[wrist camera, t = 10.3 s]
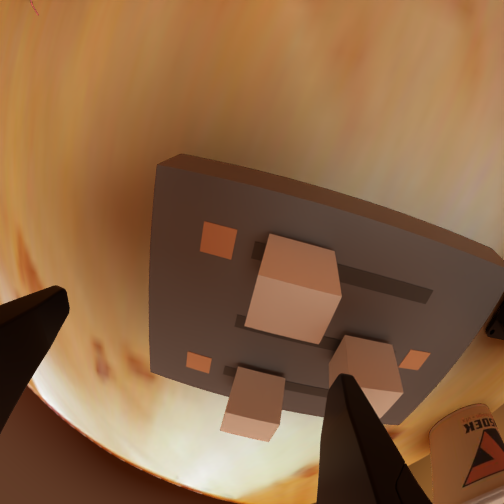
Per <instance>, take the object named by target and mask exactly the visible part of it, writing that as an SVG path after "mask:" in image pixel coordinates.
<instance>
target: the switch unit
mask: <svg viewBox="0 0 504 504" xmlns="http://www.w3.org/2000/svg"><path fill="white" fill-rule="evenodd" d="M269 234H273V235H277V236H281V237H285V238H288V239H292V240H296V241H299V242H303V243H307V244H310V245H314V246H318V247H321V248H325V249H328V250H332V251H335V256H336V262H337V268H338V275H339V281H340V288H341V294H342V297H341V300H340V302H339V304H338V306H337V308H336V310H335V313H334V315H333V317H332V319H331V321H330V323H329V325H328V327H327V329H326V331H325V333H324V335H323V337H322V339H321V341H320V343H319V344H315V343H310V342H306V341H302V340H297V339H293V338H289V337H285V336H281V335H277V334H273V333H269V332H265V331H261V330H257V329H254V328H250V327H246V326H244V325H245V322H246V318H247V314H248V310H249V307H250V303H251V299H252V295H253V292H254V288H255V284H256V280H257V277H258V273H259V269H260V266H261V262H262V259H263V255H264V252H265V248H266V245H267V241H268V237H269ZM503 292H504V260H503V259H502V258H501V257H500V256H499V255H498V254H497V253H496V252H495V251H494V250H493V249H491V248H489V247H487V246H485V245H482V244H480V243H478V242H475V241H473V240H470V239H468V238H466V237H463V236H461V235H458V234H456V233H453V232H451V231H448V230H446V229H443V228H441V227H438V226H435V225H433V224H430V223H428V222H425V221H422V220H419V219H417V218H414V217H411V216H408V215H406V214H403V213H400V212H397V211H394V210H391V209H388V208H385V207H382V206H379V205H376V204H373V203H370V202H367V201H364V200H361V199H358V198H355V197H352V196H348V195H345V194H342V193H339V192H335V191H332V190H329V189H325V188H322V187H318V186H315V185H311V184H308V183H304V182H300V181H297V180H293V179H289V178H286V177H282V176H278V175H274V174H270V173H266V172H262V171H258V170H254V169H250V168H246V167H241V166H237V165H233V164H228V163H224V162H219V161H215V160H210V159H205V158H200V157H195V156H190V155H185V154H179V155H177V156H175V157H172V158H170V159H168V160H166V161H164V162H161V163H159V164H157V169H156V179H155V189H154V200H153V212H152V226H151V244H150V268H149V345H150V369H151V372H152V373H155V374H158V375H161V376H163V377H166V378H169V379H172V380H175V381H178V382H181V383H184V384H187V385H190V386H193V387H196V388H200V389H203V390H206V391H210V392H213V393H216V394H220V395H224V396H227V397H229V396H230V393H231V389H232V385H233V382H234V379H235V375H236V372H237V369H238V366H239V367H242V368H246V369H250V370H254V371H258V372H262V373H266V374H270V375H274V376H279V377H283V378H285V386H284V395H283V403H282V410H286V411H292V412H297V413H302V414H308V415H314V416H320V417H324V414H325V407H326V400H327V394H328V390H329V362H330V361H331V359H332V357H333V355H334V354H335V352H336V350H337V348H338V346H339V345H340V343H341V341H342V339H343V337H344V336H345V335H348V336H352V337H357V338H362V339H366V340H371V341H376V342H381V343H386V344H391V345H392V346H393V350H394V354H395V358H396V362H397V366H398V370H399V374H400V379H401V383H402V388H403V394H402V395H401V396H400V398H399V399H398V400H397V401H396V402H395V403H394V404H393V405H392V406H391V408H390V409H389V410H388V411H387V412H386V413H385V414H384V415H383V416H382V417H381V418H380V420H381V422H382V424H390V425H399V424H401V423H402V422H403V421H404V420H405V419H406V418H407V417H408V416H409V415H410V414H411V413H412V412H413V411H414V410H415V409H416V408H417V406H418V405H419V404H420V403H421V402H422V401H423V400H424V399H425V398H426V397H427V396H428V395H429V394H430V392H431V391H432V390H433V389H434V388H435V387H436V386H437V385H438V383H439V382H440V381H441V380H442V379H443V378H444V376H445V375H446V374H447V373H448V372H449V370H450V369H451V368H452V367H453V365H454V364H455V363H456V362H457V360H458V359H459V358H460V356H461V355H462V354H463V353H464V351H465V350H466V349H467V347H468V346H469V344H470V343H471V342H472V340H473V339H474V338H475V336H476V335H477V333H478V332H479V330H480V329H481V327H482V326H483V324H484V323H485V321H486V320H487V318H488V317H489V315H490V314H491V312H492V311H493V309H494V307H495V306H496V304H497V302H498V301H499V299H500V297H501V296H502V294H503Z"/></svg>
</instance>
